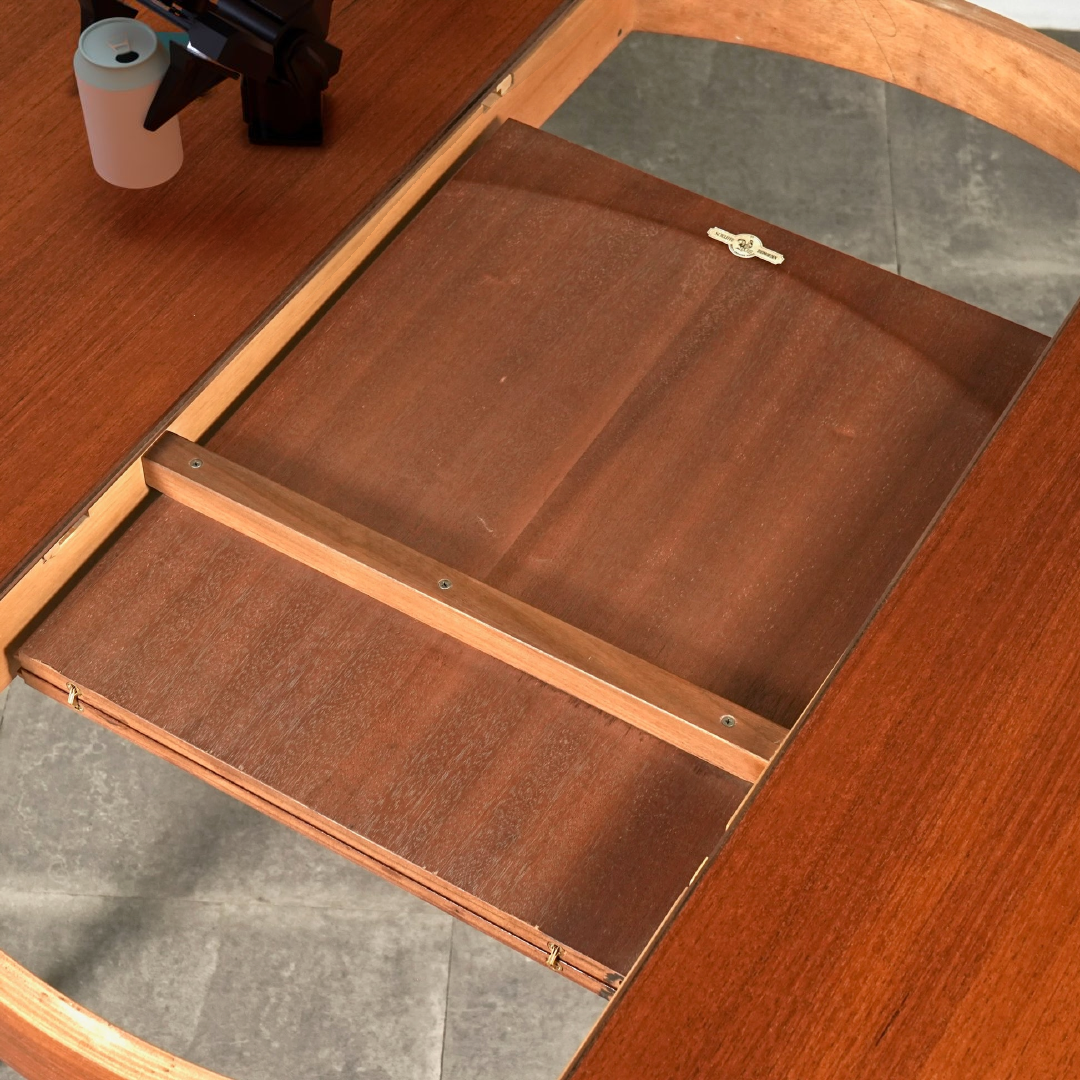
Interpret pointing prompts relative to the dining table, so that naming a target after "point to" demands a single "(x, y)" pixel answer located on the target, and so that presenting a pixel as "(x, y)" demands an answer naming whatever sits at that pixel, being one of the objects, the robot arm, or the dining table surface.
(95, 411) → the dining table surface
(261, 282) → the dining table surface
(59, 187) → the dining table surface
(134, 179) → the can
